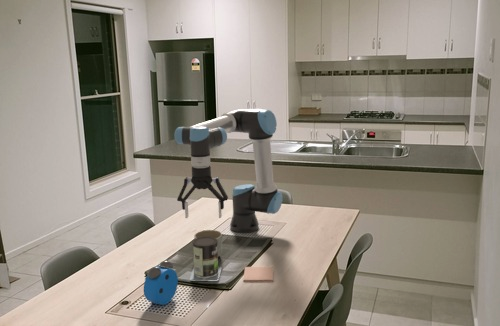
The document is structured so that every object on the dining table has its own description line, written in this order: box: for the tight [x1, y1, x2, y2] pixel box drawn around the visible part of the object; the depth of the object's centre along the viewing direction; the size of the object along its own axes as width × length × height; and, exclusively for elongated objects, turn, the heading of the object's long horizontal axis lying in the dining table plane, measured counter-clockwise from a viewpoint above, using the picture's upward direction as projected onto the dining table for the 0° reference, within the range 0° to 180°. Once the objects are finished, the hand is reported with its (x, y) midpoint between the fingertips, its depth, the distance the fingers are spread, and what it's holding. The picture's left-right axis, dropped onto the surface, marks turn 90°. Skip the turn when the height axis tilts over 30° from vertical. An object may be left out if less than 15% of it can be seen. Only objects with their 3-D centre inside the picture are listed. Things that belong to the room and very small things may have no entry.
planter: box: [193, 229, 223, 258], centre depth 210 cm, size 12×12×11 cm
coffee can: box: [192, 237, 219, 278], centre depth 192 cm, size 10×10×14 cm
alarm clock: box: [143, 259, 179, 306], centre depth 171 cm, size 13×6×15 cm, turn 152°
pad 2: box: [243, 266, 274, 283], centre depth 192 cm, size 12×12×1 cm
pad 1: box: [188, 266, 223, 281], centre depth 193 cm, size 12×12×1 cm
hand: (203, 217), depth 188 cm, fingers open, 13 cm apart
